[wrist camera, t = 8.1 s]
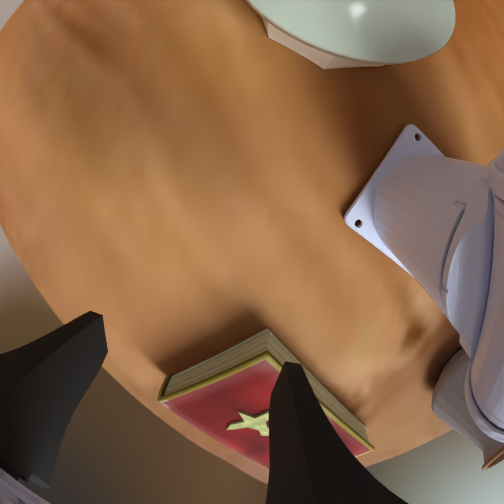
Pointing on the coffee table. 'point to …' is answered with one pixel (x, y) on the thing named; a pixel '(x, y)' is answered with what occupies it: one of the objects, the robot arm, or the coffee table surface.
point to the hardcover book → (248, 398)
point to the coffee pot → (462, 408)
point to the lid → (364, 27)
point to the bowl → (311, 51)
